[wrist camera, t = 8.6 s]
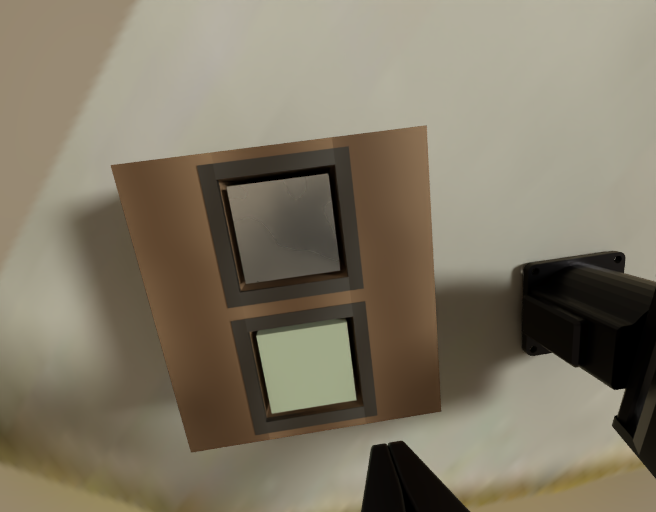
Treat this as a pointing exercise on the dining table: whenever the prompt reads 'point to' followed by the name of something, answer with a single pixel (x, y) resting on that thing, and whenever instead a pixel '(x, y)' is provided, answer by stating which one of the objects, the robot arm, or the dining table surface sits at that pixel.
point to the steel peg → (285, 228)
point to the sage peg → (307, 365)
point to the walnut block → (289, 282)
